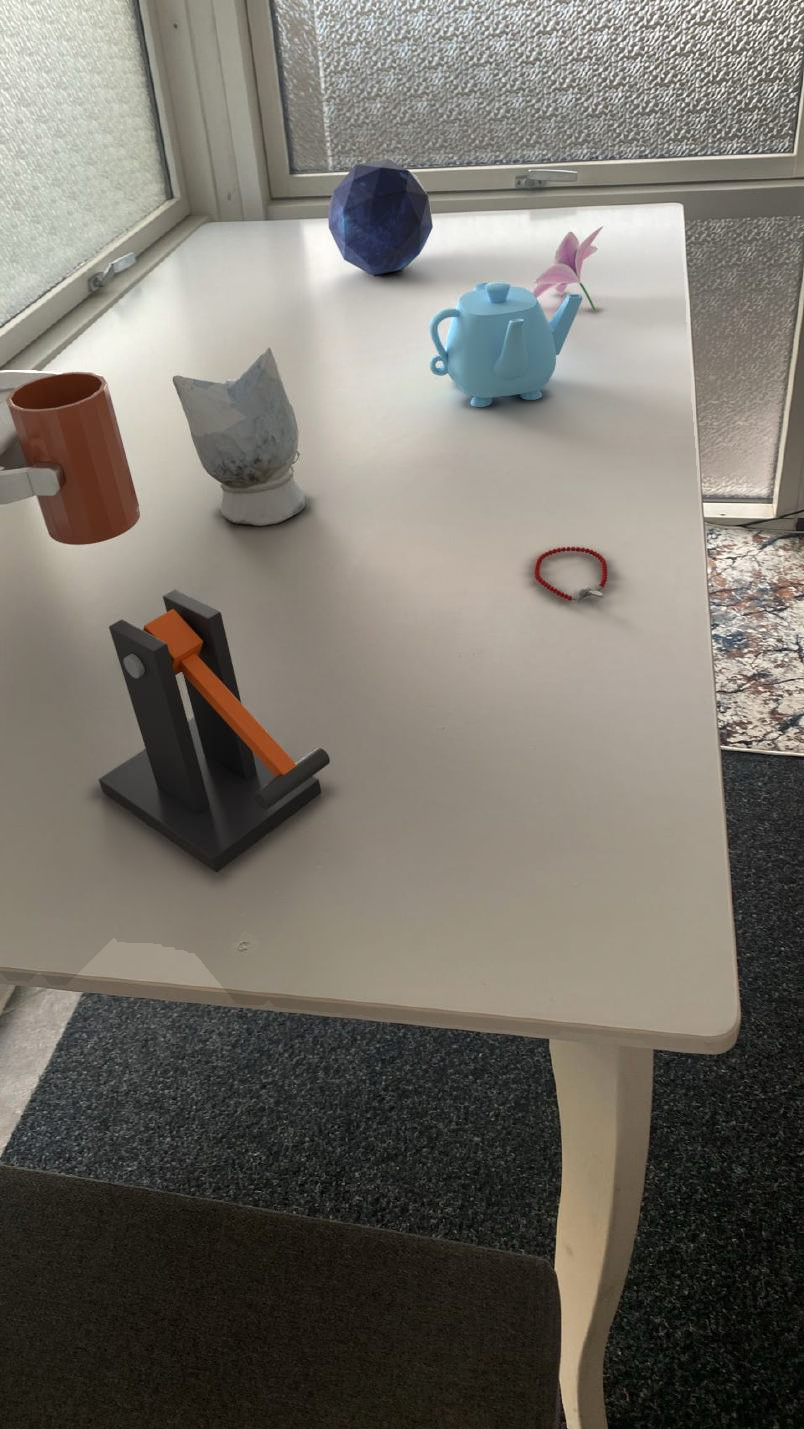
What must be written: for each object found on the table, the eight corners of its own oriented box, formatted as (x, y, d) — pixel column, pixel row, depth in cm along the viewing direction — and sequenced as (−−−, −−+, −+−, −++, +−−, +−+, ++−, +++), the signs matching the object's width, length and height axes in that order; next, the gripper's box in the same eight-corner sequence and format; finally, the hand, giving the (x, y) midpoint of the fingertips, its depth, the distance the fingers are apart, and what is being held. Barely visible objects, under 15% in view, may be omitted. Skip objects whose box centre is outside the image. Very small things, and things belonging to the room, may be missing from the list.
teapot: (596, 380, 122) (598, 274, 115) (522, 426, 114) (519, 316, 107) (485, 356, 130) (481, 256, 123) (409, 398, 123) (400, 293, 116)
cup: (82, 554, 78) (41, 419, 72) (30, 528, 82) (-13, 398, 76) (158, 515, 82) (125, 383, 75) (105, 492, 85) (70, 365, 79)
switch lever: (325, 771, 67) (335, 753, 65) (263, 817, 64) (271, 800, 62) (186, 619, 69) (191, 597, 67) (120, 657, 66) (124, 636, 64)
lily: (611, 294, 146) (579, 225, 143) (646, 282, 135) (612, 206, 132) (533, 341, 146) (499, 272, 143) (562, 332, 134) (526, 257, 132)
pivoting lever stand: (321, 792, 73) (289, 616, 64) (216, 872, 68) (166, 693, 60) (205, 724, 80) (162, 556, 71) (102, 792, 75) (43, 621, 66)
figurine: (313, 480, 109) (290, 328, 100) (304, 526, 102) (278, 366, 92) (214, 487, 110) (182, 336, 100) (198, 533, 102) (162, 375, 93)
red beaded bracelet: (620, 602, 87) (621, 591, 86) (544, 610, 87) (543, 600, 86) (599, 547, 94) (599, 537, 93) (527, 555, 94) (527, 544, 93)
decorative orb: (457, 238, 150) (428, 129, 150) (350, 258, 147) (320, 147, 147) (433, 281, 164) (406, 181, 164) (335, 300, 161) (308, 199, 161)
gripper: (-194, 474, 71) (-1, 478, 68) (-30, 356, 87) (132, 355, 84) (-155, 560, 75) (29, 567, 72) (-5, 432, 91) (151, 434, 88)
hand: (86, 452), depth 78 cm, fingers closed on cup, 7 cm apart
